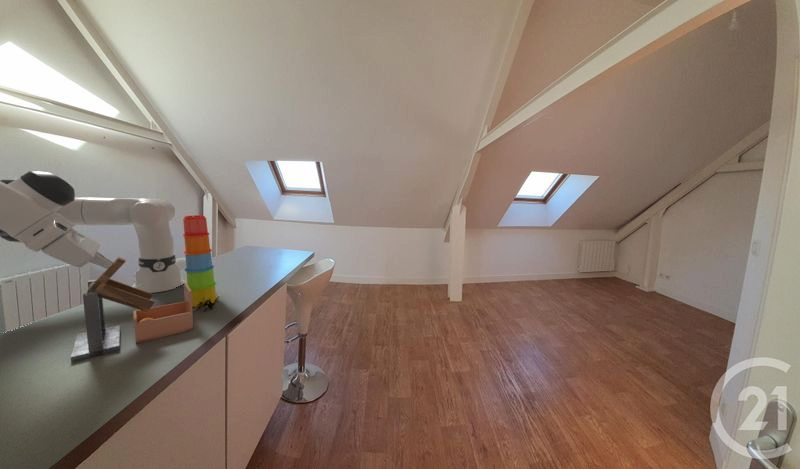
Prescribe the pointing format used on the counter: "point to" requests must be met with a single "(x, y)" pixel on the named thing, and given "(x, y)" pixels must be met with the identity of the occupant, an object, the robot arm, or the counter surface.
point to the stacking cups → (198, 260)
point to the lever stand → (95, 331)
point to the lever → (120, 289)
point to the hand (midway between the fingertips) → (110, 265)
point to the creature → (206, 304)
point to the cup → (164, 319)
